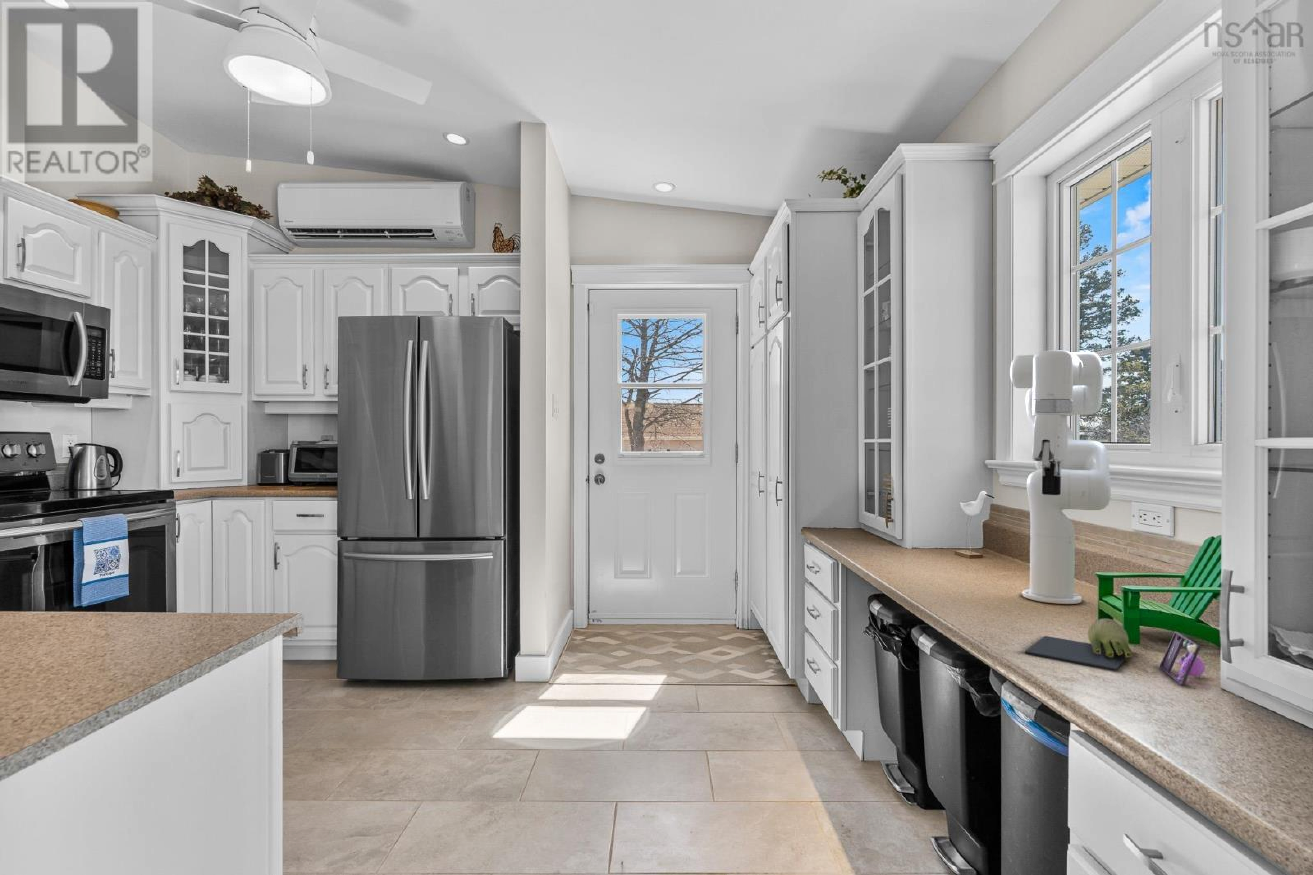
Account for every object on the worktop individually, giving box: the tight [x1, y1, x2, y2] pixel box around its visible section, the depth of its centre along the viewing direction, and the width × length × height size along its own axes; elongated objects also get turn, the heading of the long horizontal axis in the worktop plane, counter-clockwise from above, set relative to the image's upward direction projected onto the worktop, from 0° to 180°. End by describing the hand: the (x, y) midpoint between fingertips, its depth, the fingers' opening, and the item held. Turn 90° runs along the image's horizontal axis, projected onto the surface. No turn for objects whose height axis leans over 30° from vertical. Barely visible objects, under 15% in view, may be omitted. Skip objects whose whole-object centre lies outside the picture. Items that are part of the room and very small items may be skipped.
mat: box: [1024, 635, 1128, 672], centre depth 127 cm, size 14×14×1 cm
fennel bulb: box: [1087, 617, 1134, 659], centre depth 128 cm, size 6×5×12 cm
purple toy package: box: [1159, 630, 1206, 686], centre depth 114 cm, size 7×5×9 cm
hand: (1051, 494), depth 151 cm, fingers closed
